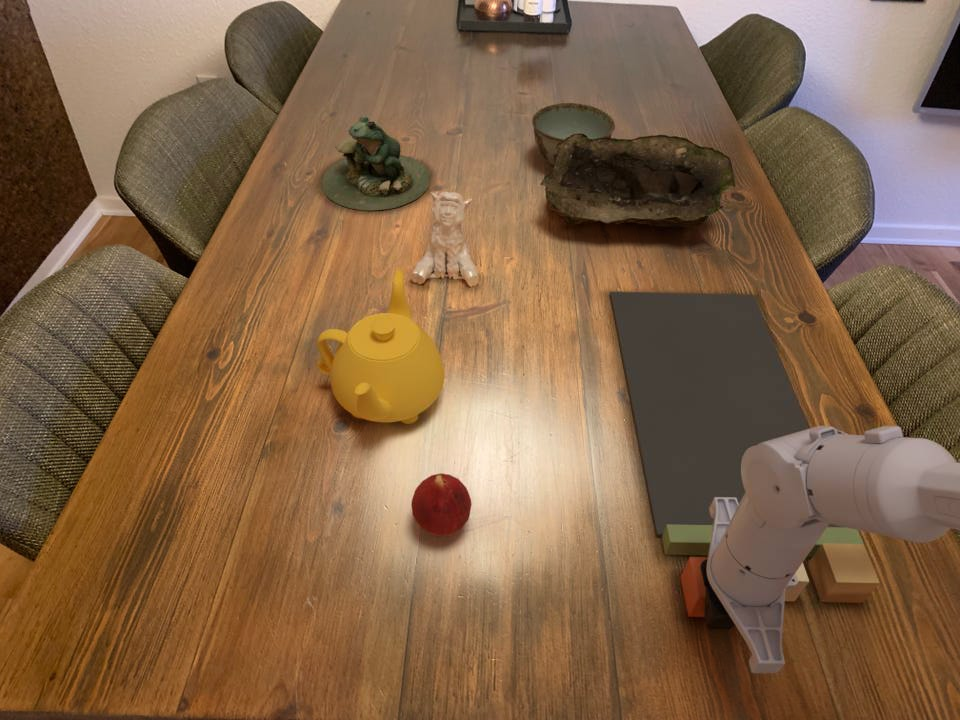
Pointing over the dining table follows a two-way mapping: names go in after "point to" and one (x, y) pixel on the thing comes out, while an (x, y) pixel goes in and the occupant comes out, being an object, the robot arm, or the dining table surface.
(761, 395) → the line board
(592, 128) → the bowl
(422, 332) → the teapot
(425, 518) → the onion
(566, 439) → the dining table surface
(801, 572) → the ivory block
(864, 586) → the birch block
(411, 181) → the frog figurine
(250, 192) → the dining table surface
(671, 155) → the hollow geode rock
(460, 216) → the sitting furry creature
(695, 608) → the terracotta block
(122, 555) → the dining table surface
